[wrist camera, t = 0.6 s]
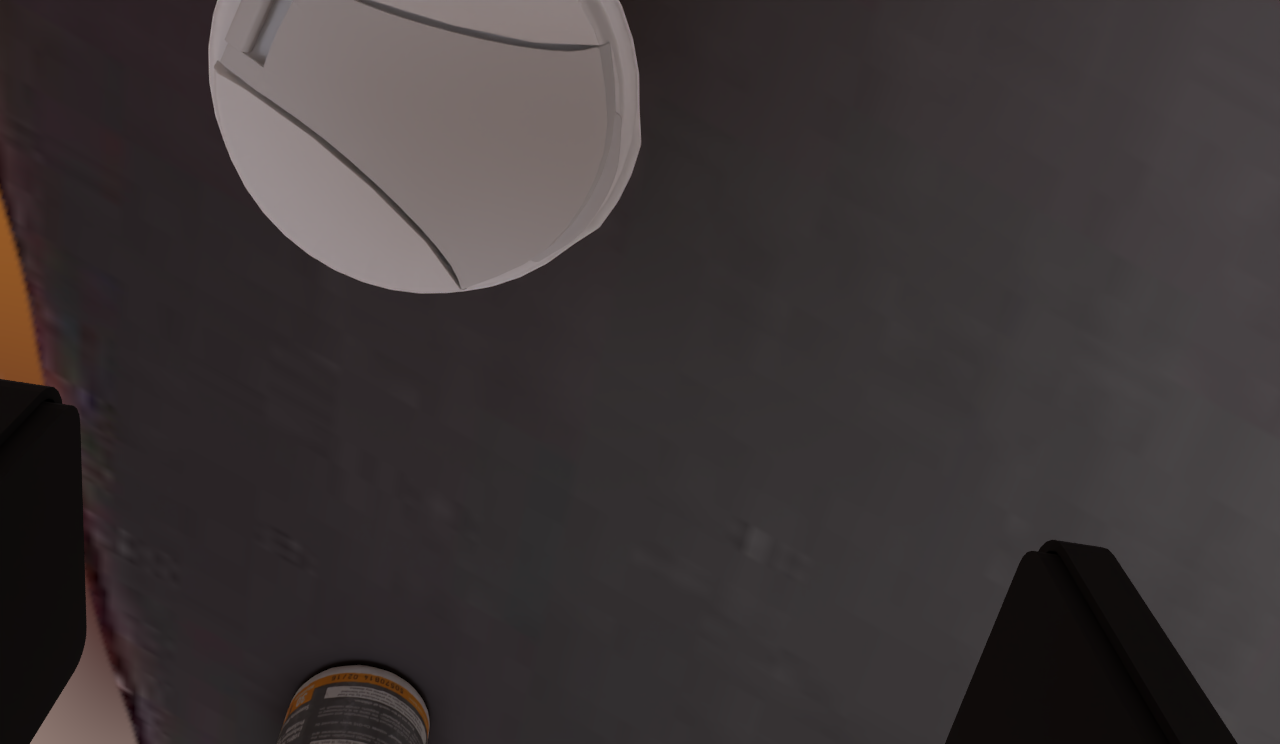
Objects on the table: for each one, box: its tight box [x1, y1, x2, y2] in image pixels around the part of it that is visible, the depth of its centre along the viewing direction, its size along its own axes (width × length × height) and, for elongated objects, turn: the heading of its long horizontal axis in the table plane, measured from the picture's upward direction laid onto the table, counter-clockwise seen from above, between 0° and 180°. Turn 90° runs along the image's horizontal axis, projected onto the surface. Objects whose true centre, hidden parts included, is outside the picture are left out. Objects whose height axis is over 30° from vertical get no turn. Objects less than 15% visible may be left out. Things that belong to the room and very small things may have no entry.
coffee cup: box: [208, 0, 641, 293], centre depth 28 cm, size 8×8×15 cm
